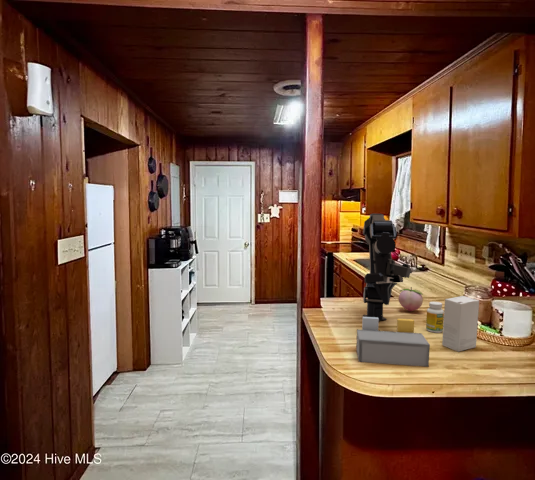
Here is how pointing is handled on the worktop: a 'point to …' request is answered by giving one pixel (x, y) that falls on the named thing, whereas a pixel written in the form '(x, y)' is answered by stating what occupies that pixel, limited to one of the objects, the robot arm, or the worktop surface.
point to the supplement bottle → (435, 317)
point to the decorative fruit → (410, 299)
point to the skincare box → (460, 323)
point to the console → (392, 348)
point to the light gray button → (370, 323)
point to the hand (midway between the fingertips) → (386, 304)
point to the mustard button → (405, 325)
